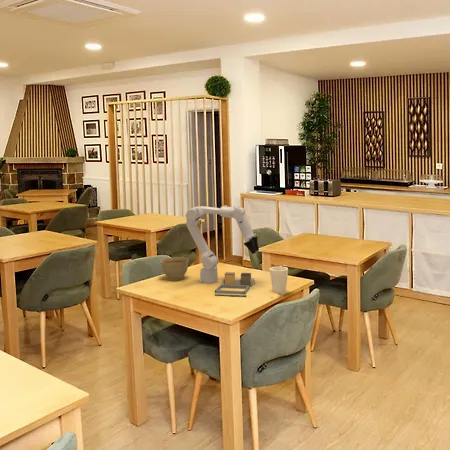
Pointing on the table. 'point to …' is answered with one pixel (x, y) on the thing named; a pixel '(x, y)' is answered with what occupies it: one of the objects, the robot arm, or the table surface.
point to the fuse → (229, 278)
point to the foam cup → (279, 279)
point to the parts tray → (232, 291)
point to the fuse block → (238, 282)
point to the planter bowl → (175, 267)
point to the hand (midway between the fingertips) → (255, 252)
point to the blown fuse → (245, 278)
